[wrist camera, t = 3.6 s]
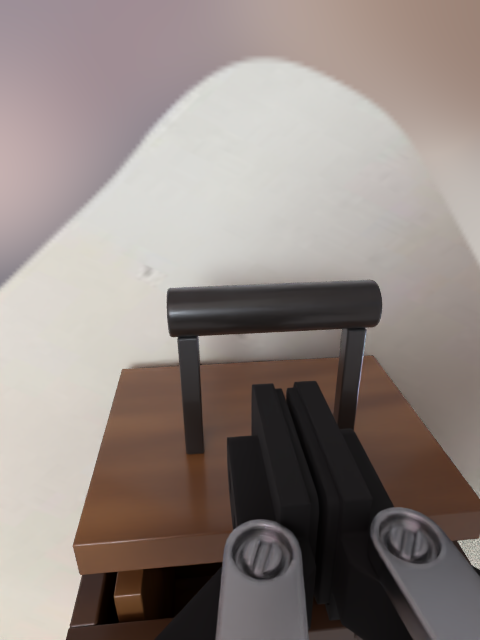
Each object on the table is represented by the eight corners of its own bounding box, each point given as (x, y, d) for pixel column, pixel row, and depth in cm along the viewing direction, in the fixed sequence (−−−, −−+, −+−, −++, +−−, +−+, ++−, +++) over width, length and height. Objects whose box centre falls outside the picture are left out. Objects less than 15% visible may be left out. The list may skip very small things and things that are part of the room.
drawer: (103, 241, 17) (24, 353, 9) (390, 232, 18) (547, 327, 10) (150, 572, 25) (130, 783, 17) (345, 553, 26) (412, 746, 18)
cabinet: (119, 415, 21) (60, 658, 12) (370, 400, 23) (501, 611, 13) (148, 604, 28) (124, 863, 18) (344, 585, 29) (418, 820, 19)
